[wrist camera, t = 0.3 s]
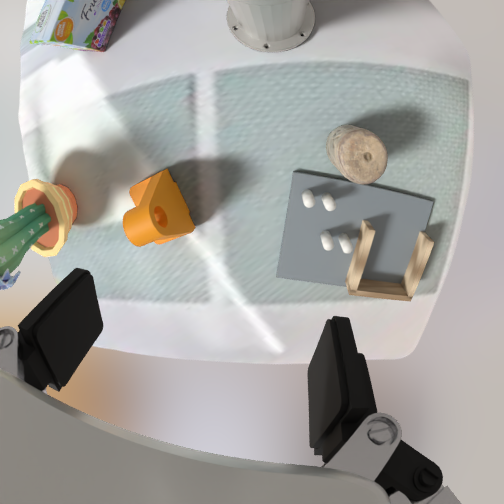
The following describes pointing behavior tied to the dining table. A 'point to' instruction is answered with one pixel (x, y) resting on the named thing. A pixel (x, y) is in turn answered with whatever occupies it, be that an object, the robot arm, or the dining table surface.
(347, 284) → the end holder
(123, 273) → the dining table surface
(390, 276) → the board
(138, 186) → the bracket
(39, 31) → the snack box
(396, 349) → the dining table surface
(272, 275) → the dining table surface
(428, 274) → the dining table surface
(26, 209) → the potted cactus
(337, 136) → the carving
